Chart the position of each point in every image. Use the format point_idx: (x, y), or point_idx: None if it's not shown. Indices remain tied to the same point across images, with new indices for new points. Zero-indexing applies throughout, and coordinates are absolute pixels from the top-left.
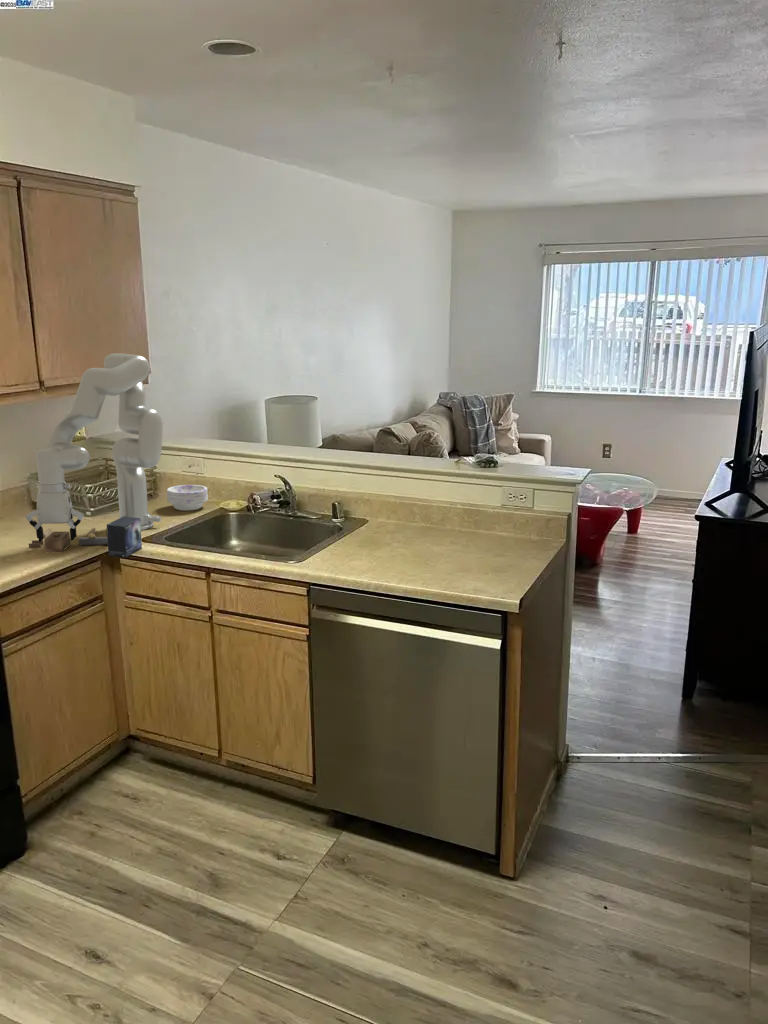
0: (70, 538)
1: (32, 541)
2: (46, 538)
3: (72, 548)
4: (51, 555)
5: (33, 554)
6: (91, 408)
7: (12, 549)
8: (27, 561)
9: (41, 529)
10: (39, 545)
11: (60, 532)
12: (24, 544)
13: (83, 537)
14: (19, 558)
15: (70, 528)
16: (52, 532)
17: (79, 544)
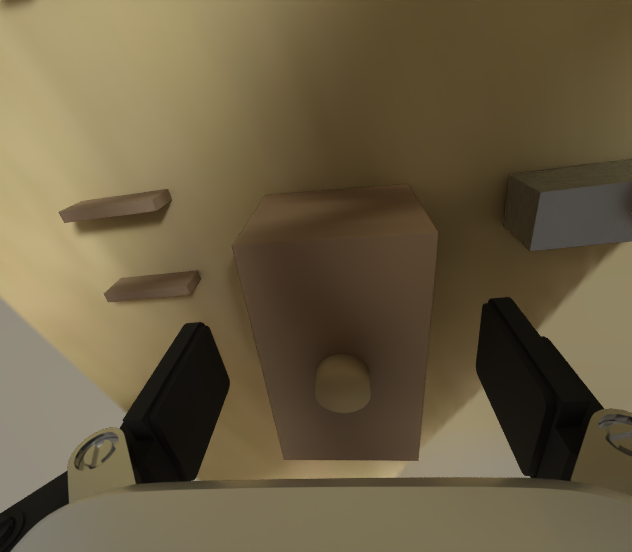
0: (483, 387)
1: (75, 219)
2: (287, 439)
3: (455, 296)
4: None
5: (244, 398)
6: None
7: (54, 324)
8: (274, 472)
9: (181, 446)
10: (190, 286)
11: (339, 279)
12: (32, 215)
13: (585, 194)
14: (210, 443)
15: (533, 457)
16: (244, 283)
17: (508, 227)
